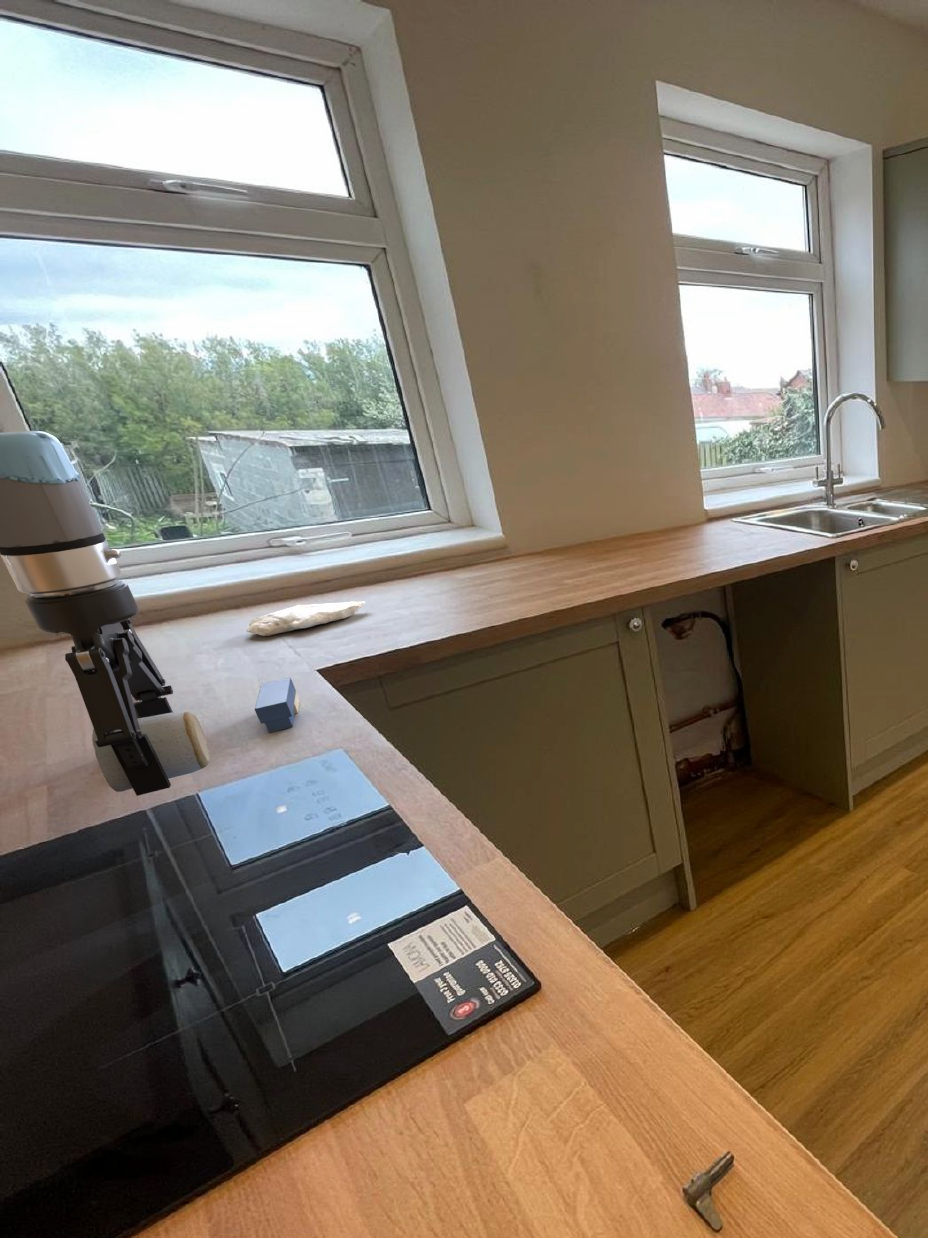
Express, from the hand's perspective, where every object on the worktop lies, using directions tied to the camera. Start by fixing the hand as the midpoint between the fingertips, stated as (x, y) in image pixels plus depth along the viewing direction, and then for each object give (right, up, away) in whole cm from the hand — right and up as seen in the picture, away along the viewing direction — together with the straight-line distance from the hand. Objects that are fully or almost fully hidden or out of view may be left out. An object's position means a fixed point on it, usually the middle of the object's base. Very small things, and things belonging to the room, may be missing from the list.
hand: (164, 768), depth 83 cm
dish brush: (-6, +4, +24) cm, 25 cm away
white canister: (0, -1, 0) cm, 1 cm away
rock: (-34, +20, +64) cm, 75 cm away
